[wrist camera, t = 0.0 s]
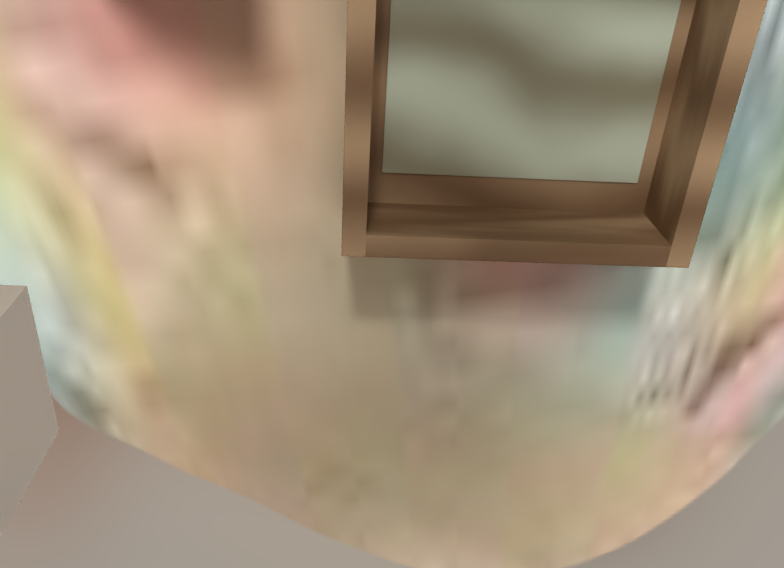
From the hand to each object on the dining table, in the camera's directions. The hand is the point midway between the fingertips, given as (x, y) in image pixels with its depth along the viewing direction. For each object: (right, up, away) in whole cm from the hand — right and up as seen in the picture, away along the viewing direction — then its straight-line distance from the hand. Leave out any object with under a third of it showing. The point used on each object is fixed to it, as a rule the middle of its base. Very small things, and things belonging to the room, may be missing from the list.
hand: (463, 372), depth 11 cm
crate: (+6, +13, +25) cm, 29 cm away
